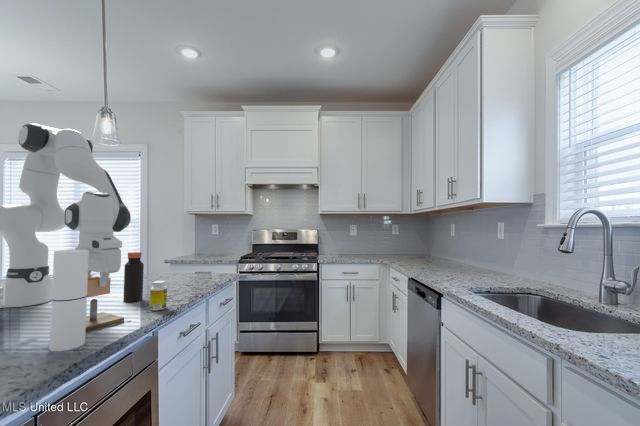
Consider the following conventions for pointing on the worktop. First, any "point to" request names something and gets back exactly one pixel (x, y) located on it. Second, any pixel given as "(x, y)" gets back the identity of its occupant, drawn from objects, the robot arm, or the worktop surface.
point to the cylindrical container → (69, 299)
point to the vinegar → (133, 278)
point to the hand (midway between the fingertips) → (95, 285)
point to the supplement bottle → (158, 295)
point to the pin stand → (100, 318)
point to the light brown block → (97, 287)
